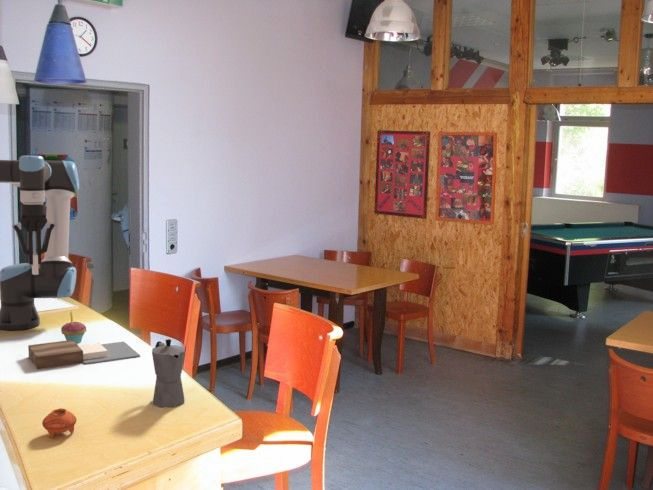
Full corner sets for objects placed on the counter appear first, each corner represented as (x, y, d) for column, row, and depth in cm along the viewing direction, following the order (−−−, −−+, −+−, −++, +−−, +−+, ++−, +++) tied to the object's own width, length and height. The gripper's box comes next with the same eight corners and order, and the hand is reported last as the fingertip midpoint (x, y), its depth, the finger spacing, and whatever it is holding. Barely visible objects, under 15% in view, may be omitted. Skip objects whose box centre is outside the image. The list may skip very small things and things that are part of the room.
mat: (71, 349, 246) (71, 348, 246) (123, 342, 256) (123, 341, 256) (84, 364, 231) (84, 363, 231) (140, 356, 241) (140, 355, 241)
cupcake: (81, 345, 251) (80, 312, 249) (57, 344, 251) (56, 311, 249) (90, 338, 259) (89, 306, 258) (66, 338, 260) (65, 305, 258)
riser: (28, 357, 237) (28, 345, 236) (72, 351, 244) (72, 339, 244) (37, 369, 225) (36, 356, 225) (83, 362, 233) (83, 350, 232)
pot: (81, 425, 183) (79, 403, 181) (72, 445, 176) (70, 422, 174) (49, 424, 183) (47, 401, 180) (38, 443, 176) (36, 420, 173)
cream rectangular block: (75, 351, 242) (75, 345, 242) (99, 348, 247) (99, 342, 246) (82, 359, 234) (82, 353, 234) (107, 356, 238) (107, 350, 238)
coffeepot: (193, 406, 199) (193, 343, 196) (161, 412, 194) (160, 348, 191) (172, 389, 212) (172, 329, 209) (141, 394, 206) (140, 333, 204)
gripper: (13, 204, 230) (16, 277, 233) (56, 203, 237) (58, 274, 240) (9, 202, 236) (12, 273, 240) (51, 201, 243) (53, 270, 247)
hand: (35, 273), depth 240 cm, fingers closed
